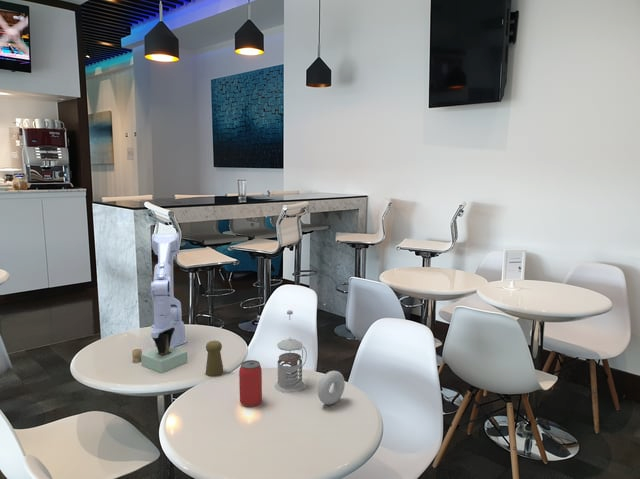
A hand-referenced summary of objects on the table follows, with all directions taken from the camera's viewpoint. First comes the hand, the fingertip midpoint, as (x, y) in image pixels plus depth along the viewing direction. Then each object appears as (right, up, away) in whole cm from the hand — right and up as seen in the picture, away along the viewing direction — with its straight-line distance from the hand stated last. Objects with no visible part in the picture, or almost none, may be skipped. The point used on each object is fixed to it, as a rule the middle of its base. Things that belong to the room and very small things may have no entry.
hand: (164, 350), depth 165 cm
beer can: (+35, -9, -26) cm, 44 cm away
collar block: (0, -5, +1) cm, 5 cm away
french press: (+46, -8, -15) cm, 49 cm away
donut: (+58, -10, -27) cm, 65 cm away
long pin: (0, -3, 0) cm, 3 cm away
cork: (+19, -6, -6) cm, 21 cm away
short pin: (-11, -5, +3) cm, 12 cm away
